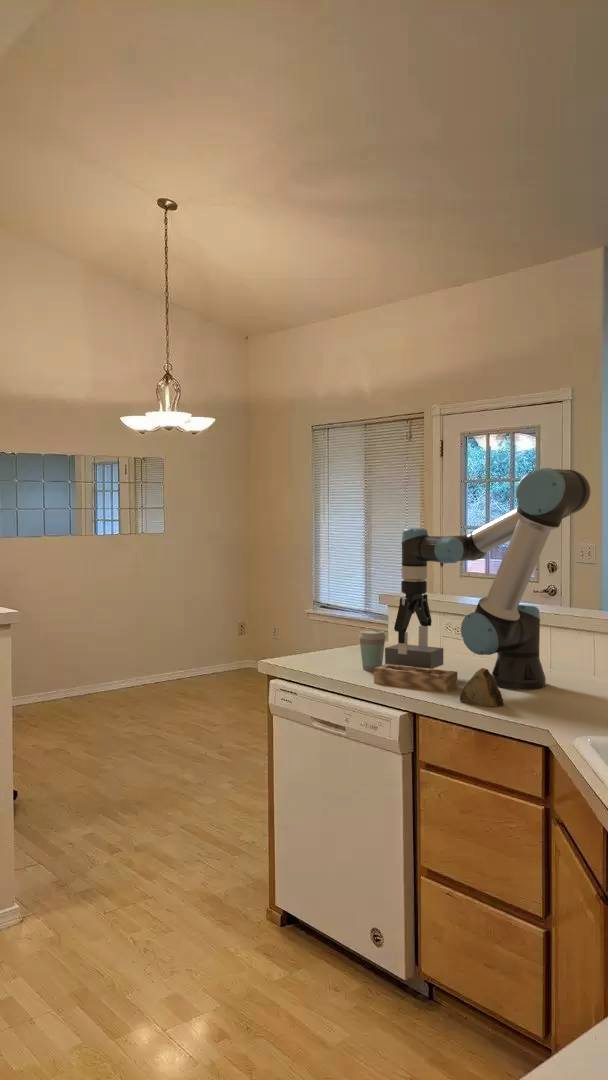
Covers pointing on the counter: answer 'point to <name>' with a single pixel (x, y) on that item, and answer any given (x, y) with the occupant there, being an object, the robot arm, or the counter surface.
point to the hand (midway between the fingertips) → (413, 650)
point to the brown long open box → (415, 677)
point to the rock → (482, 690)
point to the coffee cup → (372, 648)
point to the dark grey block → (415, 656)
